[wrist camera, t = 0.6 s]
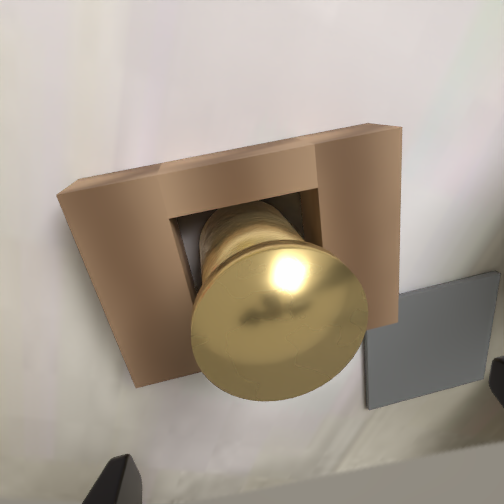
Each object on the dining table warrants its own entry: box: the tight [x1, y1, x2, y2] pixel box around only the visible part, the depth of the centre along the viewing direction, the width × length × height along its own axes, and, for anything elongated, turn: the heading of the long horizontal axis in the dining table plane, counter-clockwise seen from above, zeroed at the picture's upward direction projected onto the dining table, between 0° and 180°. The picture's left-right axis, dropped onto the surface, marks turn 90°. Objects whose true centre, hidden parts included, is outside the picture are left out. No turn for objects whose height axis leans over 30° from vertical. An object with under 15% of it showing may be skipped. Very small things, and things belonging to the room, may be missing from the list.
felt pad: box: [364, 271, 501, 410], centre depth 23 cm, size 9×9×1 cm
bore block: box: [56, 123, 402, 388], centre depth 17 cm, size 14×10×3 cm
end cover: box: [191, 200, 368, 401], centre depth 15 cm, size 6×6×8 cm
